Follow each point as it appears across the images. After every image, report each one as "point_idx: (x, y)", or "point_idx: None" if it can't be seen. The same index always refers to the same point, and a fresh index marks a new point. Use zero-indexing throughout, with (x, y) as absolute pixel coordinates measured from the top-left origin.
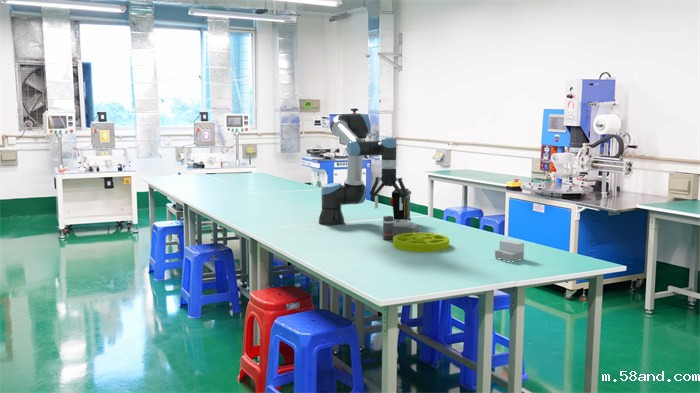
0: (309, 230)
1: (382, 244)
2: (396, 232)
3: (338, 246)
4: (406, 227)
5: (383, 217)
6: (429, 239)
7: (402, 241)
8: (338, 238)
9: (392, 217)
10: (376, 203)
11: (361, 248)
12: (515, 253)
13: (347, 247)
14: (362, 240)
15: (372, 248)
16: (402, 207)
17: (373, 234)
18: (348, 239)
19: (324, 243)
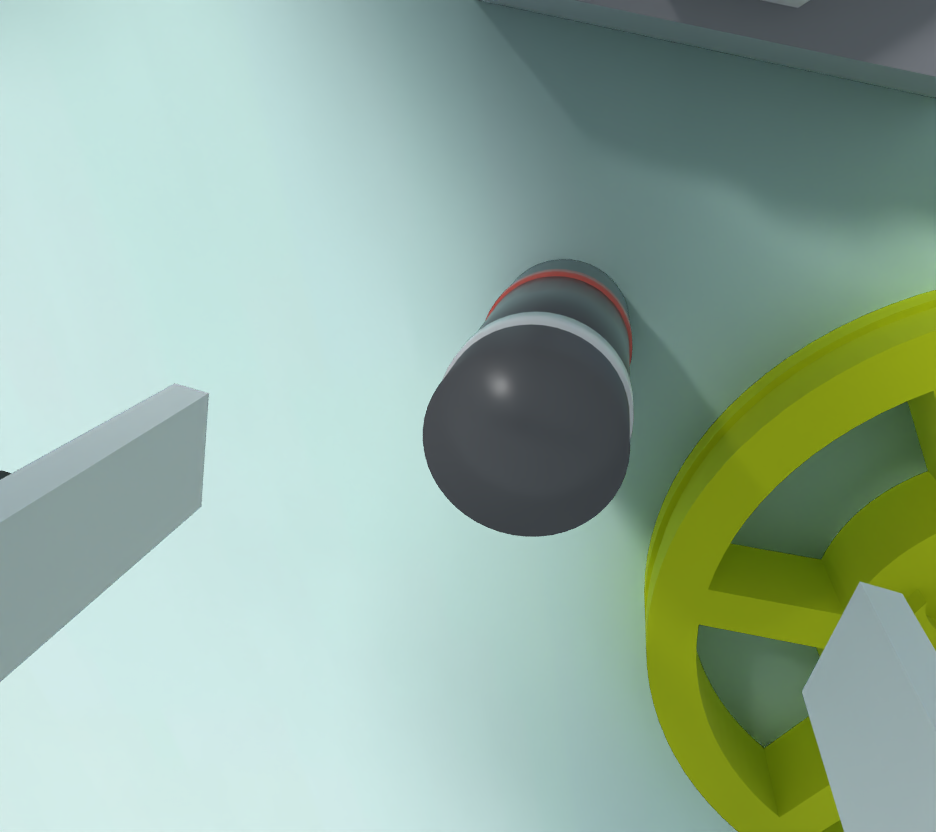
0: None
1: (526, 577)
2: (667, 35)
3: (161, 668)
4: (878, 66)
5: (432, 466)
6: None
7: (763, 816)
8: (22, 354)
9: (613, 494)
10: (124, 552)
11: (363, 727)
12: None
13: (241, 698)
14: (281, 417)
15: (457, 726)
16: (914, 644)
17: (314, 16)
18: (131, 388)
19: None
